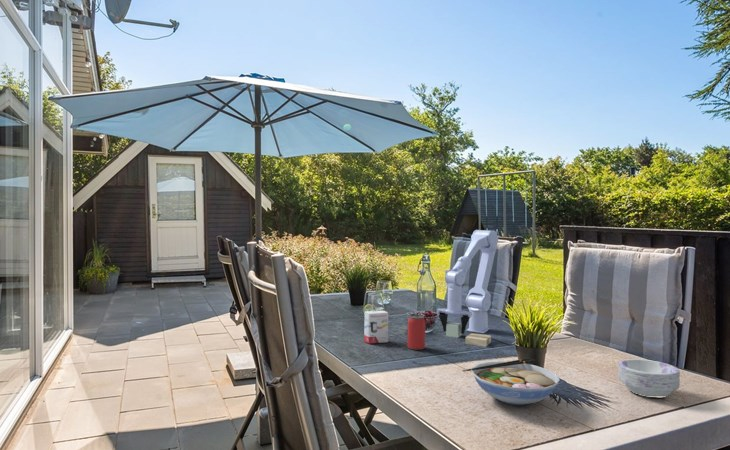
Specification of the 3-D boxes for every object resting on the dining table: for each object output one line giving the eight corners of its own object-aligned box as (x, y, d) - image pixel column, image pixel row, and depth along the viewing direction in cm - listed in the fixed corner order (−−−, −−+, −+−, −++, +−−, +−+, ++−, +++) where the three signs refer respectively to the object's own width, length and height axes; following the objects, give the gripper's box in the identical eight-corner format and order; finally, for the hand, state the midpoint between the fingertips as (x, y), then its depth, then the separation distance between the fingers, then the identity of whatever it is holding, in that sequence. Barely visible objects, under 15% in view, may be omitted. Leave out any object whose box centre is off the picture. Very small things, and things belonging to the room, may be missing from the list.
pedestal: (471, 340, 197) (471, 332, 197) (491, 343, 193) (491, 335, 193) (465, 344, 190) (465, 337, 190) (485, 347, 186) (485, 340, 186)
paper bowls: (608, 383, 147) (608, 357, 147) (659, 384, 147) (660, 358, 146) (634, 402, 132) (635, 373, 132) (691, 404, 131) (692, 374, 131)
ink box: (368, 344, 186) (368, 313, 186) (363, 341, 191) (363, 311, 191) (388, 342, 190) (389, 312, 190) (383, 339, 195) (383, 310, 194)
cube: (450, 333, 206) (450, 322, 205) (461, 335, 203) (461, 323, 203) (446, 336, 201) (446, 324, 201) (457, 338, 199) (458, 325, 199)
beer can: (424, 346, 185) (425, 314, 185) (425, 350, 179) (425, 318, 178) (407, 345, 186) (408, 314, 186) (407, 350, 179) (407, 317, 179)
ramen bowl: (505, 424, 116) (505, 390, 116) (451, 392, 137) (452, 363, 137) (582, 409, 126) (582, 378, 126) (521, 381, 147) (521, 354, 147)
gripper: (434, 299, 202) (434, 331, 202) (468, 302, 195) (468, 336, 195) (440, 297, 208) (439, 328, 208) (473, 300, 201) (473, 333, 201)
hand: (453, 332), depth 202 cm, fingers open, 7 cm apart
